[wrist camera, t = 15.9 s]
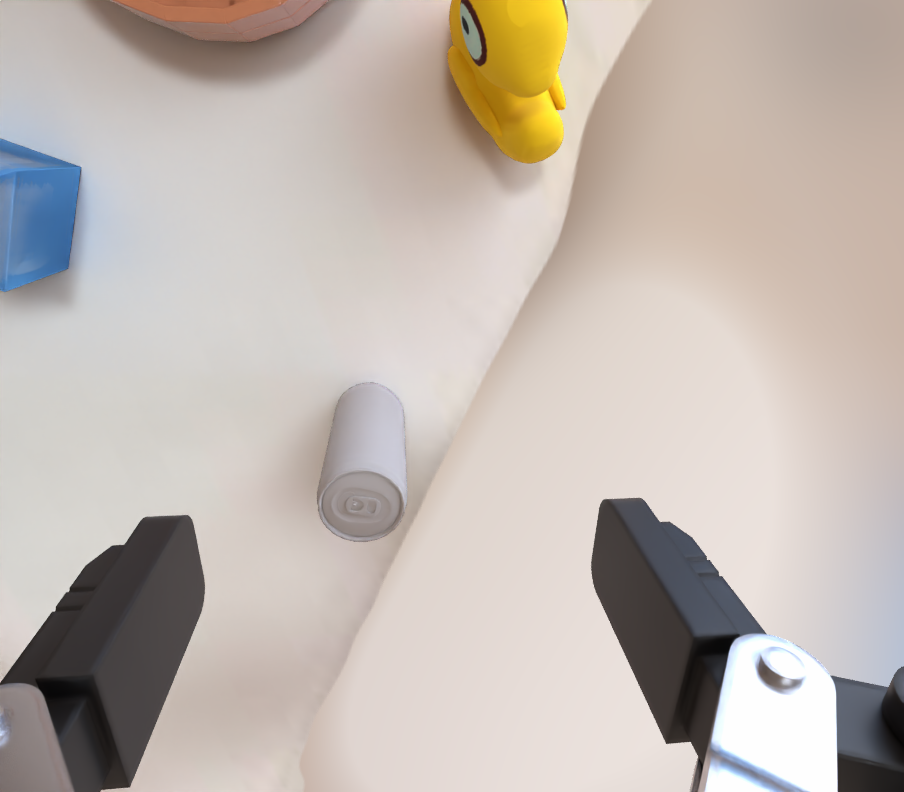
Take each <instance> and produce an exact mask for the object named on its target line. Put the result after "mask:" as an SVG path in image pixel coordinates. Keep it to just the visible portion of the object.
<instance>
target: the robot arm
mask: <svg viewBox="0 0 904 792" xmlns="http://www.w3.org/2000/svg"><path fill="white" fill-rule="evenodd" d="M706 557H707V556H706V555H705V554H704V553H703V551H702V550H701V549H700V547H699V546H698V545H697V543H696V542H695V541H694V540H693V538H692V537H690V536H689V535H688V534H686V533H684V532H683V531H682V530H680V529H679V528H678V527H676V526H675V525H673V524H672V523H670V522H659V520H658V519H657V518H656V516H655V515H654V513H653V512H652V511H651V509H650V508H649V506H648V505H647V504H646V502H645V501H644V500H643V499H641V498H627V499H605V500H603V501H602V503H601V504H600V508H599V514H598V520H597V527H596V534H595V541H594V548H593V555H592V562H591V568H592V569H591V570H592V579H593V584H594V587H595V590H596V593H597V595H598V597H599V599H600V601H601V604H602V606H603V608H604V610H605V612H606V614H607V617H608V619H609V621H610V623H611V625H612V628H613V630H614V632H615V634H616V636H617V638H618V640H619V643H620V645H621V647H622V649H623V651H624V653H625V656H626V658H627V660H628V662H629V664H630V666H631V669H632V671H633V673H634V675H635V677H636V679H637V681H638V684H639V686H640V688H641V690H642V692H643V694H644V696H645V699H646V701H647V703H648V705H649V707H650V710H651V712H652V714H653V716H654V718H655V720H656V723H657V725H658V727H659V729H660V731H661V733H662V735H663V738H664V740H665V742H666V744H669V743H681V742H691V743H692V745H693V747H694V749H695V751H696V753H697V755H698V759H697V762H696V765H695V769H694V774H693V778H692V783H691V787H690V792H904V667H901V668H900V669H898V670H897V672H896V673H895V675H894V677H893V679H892V681H891V683H890V685H889V687H884V686H879V685H874V684H869V683H864V682H859V681H854V680H850V679H845V678H839V677H835V676H831V675H830V674H829V673H828V672H827V670H826V669H825V668H824V666H823V665H822V664H821V663H820V662H819V661H817V659H816V658H815V657H813V656H812V655H811V654H809V653H808V652H807V651H805V650H804V649H802V648H800V647H799V646H797V645H795V644H793V643H791V642H789V641H787V640H784V639H782V638H779V637H776V636H771V635H767V634H766V633H765V631H764V630H763V629H762V628H761V626H760V625H759V624H758V623H757V621H756V620H755V618H754V617H753V616H752V615H751V613H750V612H749V611H748V609H747V608H746V607H745V606H744V604H743V603H742V602H741V600H740V599H739V598H738V596H737V595H736V594H735V593H734V591H733V590H732V589H731V587H730V586H729V585H728V584H727V582H726V581H725V580H724V578H723V577H722V576H719V572H718V571H717V569H716V568H715V567H714V565H713V564H712V563H711V562H710V560H707V558H706ZM204 594H205V582H204V575H203V570H202V565H201V560H200V555H199V550H198V545H197V540H196V535H195V530H194V525H193V522H192V519H191V518H190V517H189V516H188V515H179V516H154V517H145V518H143V519H142V520H141V521H140V523H139V524H138V526H137V527H136V529H135V530H134V531H133V533H132V534H131V536H130V537H129V539H128V540H127V542H126V543H125V545H115V546H111V547H110V548H108V549H107V550H106V551H104V552H103V553H102V554H100V555H99V556H98V557H97V558H95V559H94V560H93V561H91V562H90V563H89V564H87V565H86V566H85V568H84V569H83V570H82V572H81V573H80V574H79V576H78V577H77V579H76V580H75V581H74V583H73V584H72V585H71V587H70V591H69V592H67V593H66V594H65V595H64V596H63V598H62V599H61V600H60V602H59V603H58V605H57V606H56V611H55V612H52V613H51V614H50V616H49V617H48V618H47V620H46V621H45V622H44V624H43V625H42V626H41V628H40V629H39V631H38V632H37V633H36V635H35V636H34V637H33V639H32V640H31V642H30V643H29V644H28V646H27V647H26V648H25V650H24V651H23V652H22V654H21V655H20V657H19V658H18V659H17V661H16V662H15V663H14V665H13V666H12V668H11V669H10V670H9V672H8V673H7V674H6V676H5V677H4V679H3V680H2V681H1V683H0V792H100V791H101V790H104V789H116V788H128V787H130V786H131V783H132V781H133V778H134V776H135V773H136V771H137V768H138V766H139V764H140V761H141V759H142V756H143V754H144V751H145V749H146V746H147V744H148V741H149V739H150V737H151V734H152V732H153V729H154V727H155V724H156V722H157V719H158V717H159V715H160V712H161V710H162V707H163V705H164V702H165V700H166V697H167V695H168V692H169V690H170V688H171V685H172V683H173V680H174V678H175V675H176V673H177V670H178V668H179V666H180V663H181V661H182V658H183V656H184V653H185V651H186V648H187V646H188V643H189V641H190V639H191V636H192V634H193V631H194V629H195V626H196V624H197V621H198V619H199V617H200V614H201V611H202V607H203V602H204Z"/></svg>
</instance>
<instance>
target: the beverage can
mask: <svg viewBox="0 0 904 792" xmlns="http://www.w3.org/2000/svg"><path fill="white" fill-rule="evenodd" d="M317 504H318V512H319V515H320V518H321V520H322V522H323V523H324V525H325V526H326V528H328V529H329V530H330V531H331V532H332V533H333V534H335V535H337V536H339V537H341V538H343V539H346V540H350V541H354V542H368V541H373V540H377V539H379V538H382V537H384V536H386V535H388V534H389V533H390V532H392V531H393V530H394V529H395V528H396V527H397V526H398V524H399V523H400V522H401V519H402V517H403V515H404V511H405V508H406V505H407V475H406V450H405V426H404V411H403V407H402V404H401V402H400V400H399V399H398V397H397V396H396V395H395V394H394V393H393V392H392V391H390V390H389V389H387V388H386V387H384V386H382V385H379V384H376V383H362V384H358V385H355V386H353V387H351V388H349V389H348V390H347V391H346V392H344V393H343V395H342V396H341V397H340V399H339V400H338V403H337V406H336V410H335V414H334V419H333V423H332V428H331V432H330V437H329V441H328V446H327V450H326V455H325V459H324V464H323V468H322V473H321V477H320V482H319V486H318V491H317Z"/></svg>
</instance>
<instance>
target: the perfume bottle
mask: <svg viewBox="0 0 904 792" xmlns="http://www.w3.org/2000/svg"><path fill="white" fill-rule="evenodd" d="M80 171H81V167H79V166H76V165H73V164H71V163H68V162H65V161H62V160H59V159H56V158H54V157H51V156H48V155H45V154H42V153H40V152H37V151H34V150H31V149H28V148H25V147H23V146H20V145H17V144H14V143H11V142H8V141H6V140H3V139H0V290H1V291H4V292H6V291H9V290H11V289H14V288H17V287H20V286H22V285H25V284H28V283H30V282H33V281H36V280H38V279H41V278H44V277H47V276H49V275H52V274H55V273H57V272H60V271H63V270H66V269H68V266H69V258H70V250H71V242H72V234H73V226H74V218H75V210H76V203H77V195H78V187H79V179H80Z"/></svg>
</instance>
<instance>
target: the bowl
mask: <svg viewBox="0 0 904 792" xmlns="http://www.w3.org/2000/svg"><path fill="white" fill-rule="evenodd" d="M110 1H112V2H114V3H116V4H117V5H119V6H121V7H123V8H125V9H127V10H129V11H131V12H133V13H135V14H136V15H138V16H140V17H142V18H144V19H146V20H149V21H151V22H154V23H156V24H159V25H161V26H164V27H167V28H169V29H172V30H174V31H177V32H179V33H182V34H185V35H187V36H190V37H192V38H195V39H199V40H212V41H236V42H250V41H251V42H252V41H255V40H258V39H261V38H264V37H267V36H270V35H273V34H276V33H279V32H282V31H285V30H288V29H291V28H294V27H297V26H299V25H300V24H301V23H302V22H304V21H305V20H306V19H307V18H308V17H310V16H311V15H312V14H313V13H314V12H316V11H317V10H318V9H319V8H320V7H321V6H323V5H324V4H325V3H326V2H327V1H329V0H110Z"/></svg>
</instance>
